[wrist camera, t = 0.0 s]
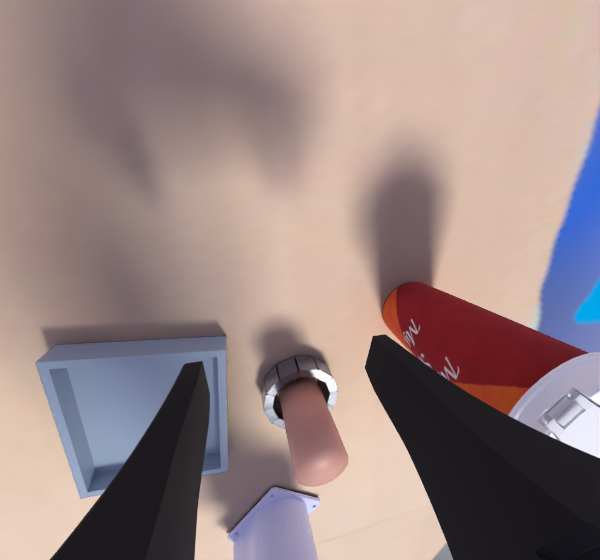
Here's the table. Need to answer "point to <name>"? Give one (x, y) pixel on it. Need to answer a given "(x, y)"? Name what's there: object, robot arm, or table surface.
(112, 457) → the tray
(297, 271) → the table surface
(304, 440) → the peg
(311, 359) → the sleeve
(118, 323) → the table surface
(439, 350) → the paper cup
